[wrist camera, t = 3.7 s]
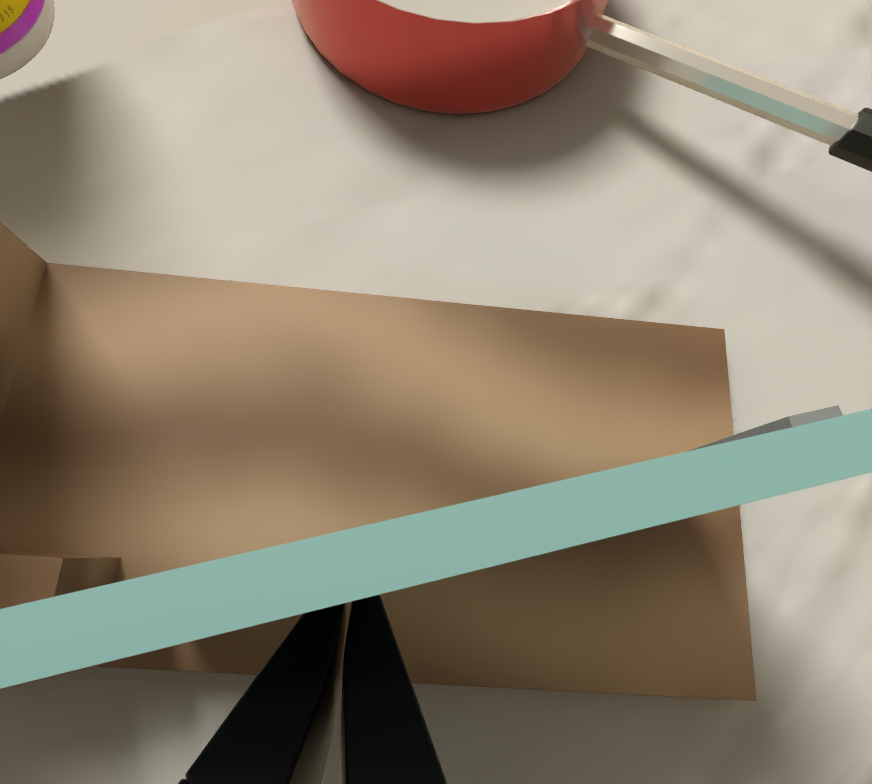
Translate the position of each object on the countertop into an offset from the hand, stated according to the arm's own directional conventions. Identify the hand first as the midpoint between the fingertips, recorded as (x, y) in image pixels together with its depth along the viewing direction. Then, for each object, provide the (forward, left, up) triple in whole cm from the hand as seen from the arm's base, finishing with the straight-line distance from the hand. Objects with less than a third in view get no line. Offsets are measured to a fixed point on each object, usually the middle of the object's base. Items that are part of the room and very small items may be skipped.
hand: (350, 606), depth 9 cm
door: (+1, -1, -7) cm, 7 cm away
